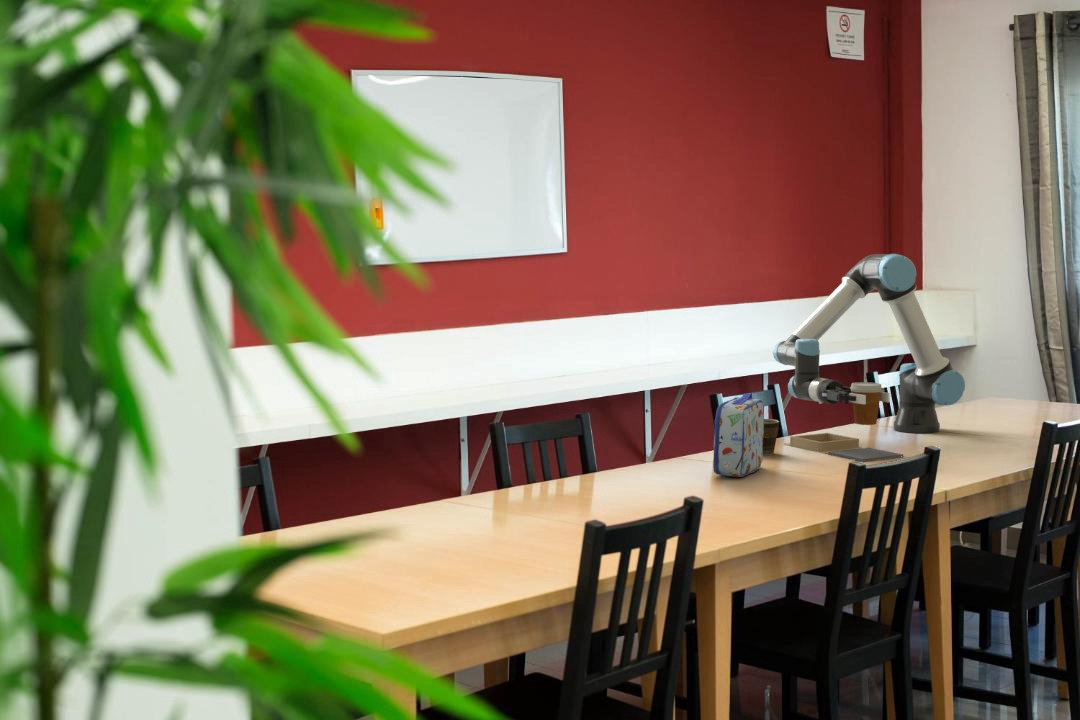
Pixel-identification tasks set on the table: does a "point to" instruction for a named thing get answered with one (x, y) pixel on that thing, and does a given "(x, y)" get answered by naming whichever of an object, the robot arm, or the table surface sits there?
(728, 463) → the lunch box
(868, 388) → the disposable coffee cup
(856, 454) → the charcoal mat
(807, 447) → the tan shallow tray
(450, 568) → the table surface
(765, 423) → the ceramic cup
